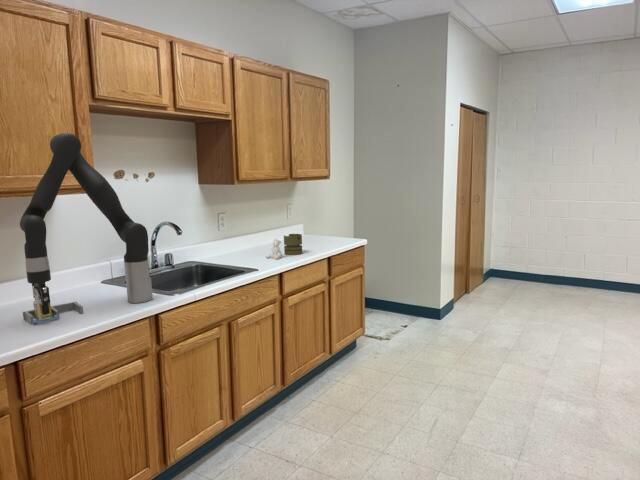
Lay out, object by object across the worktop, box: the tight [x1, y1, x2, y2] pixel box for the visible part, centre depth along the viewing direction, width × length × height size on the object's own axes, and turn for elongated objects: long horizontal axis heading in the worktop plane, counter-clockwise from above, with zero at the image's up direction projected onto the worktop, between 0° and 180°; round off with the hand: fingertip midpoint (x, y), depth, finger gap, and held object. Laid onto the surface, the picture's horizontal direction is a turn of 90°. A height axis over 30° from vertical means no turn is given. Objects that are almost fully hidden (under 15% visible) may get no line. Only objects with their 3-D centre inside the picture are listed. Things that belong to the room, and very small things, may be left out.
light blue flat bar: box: [32, 315, 60, 326], centre depth 178 cm, size 8×1×2 cm, turn 133°
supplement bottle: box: [32, 294, 53, 321], centre depth 179 cm, size 5×5×10 cm
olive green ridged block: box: [283, 233, 303, 256], centre depth 303 cm, size 11×12×11 cm
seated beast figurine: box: [265, 238, 283, 261], centre depth 289 cm, size 10×9×12 cm
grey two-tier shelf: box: [22, 301, 84, 326], centre depth 184 cm, size 19×10×3 cm, turn 133°
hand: (43, 311), depth 179 cm, fingers open, 7 cm apart
